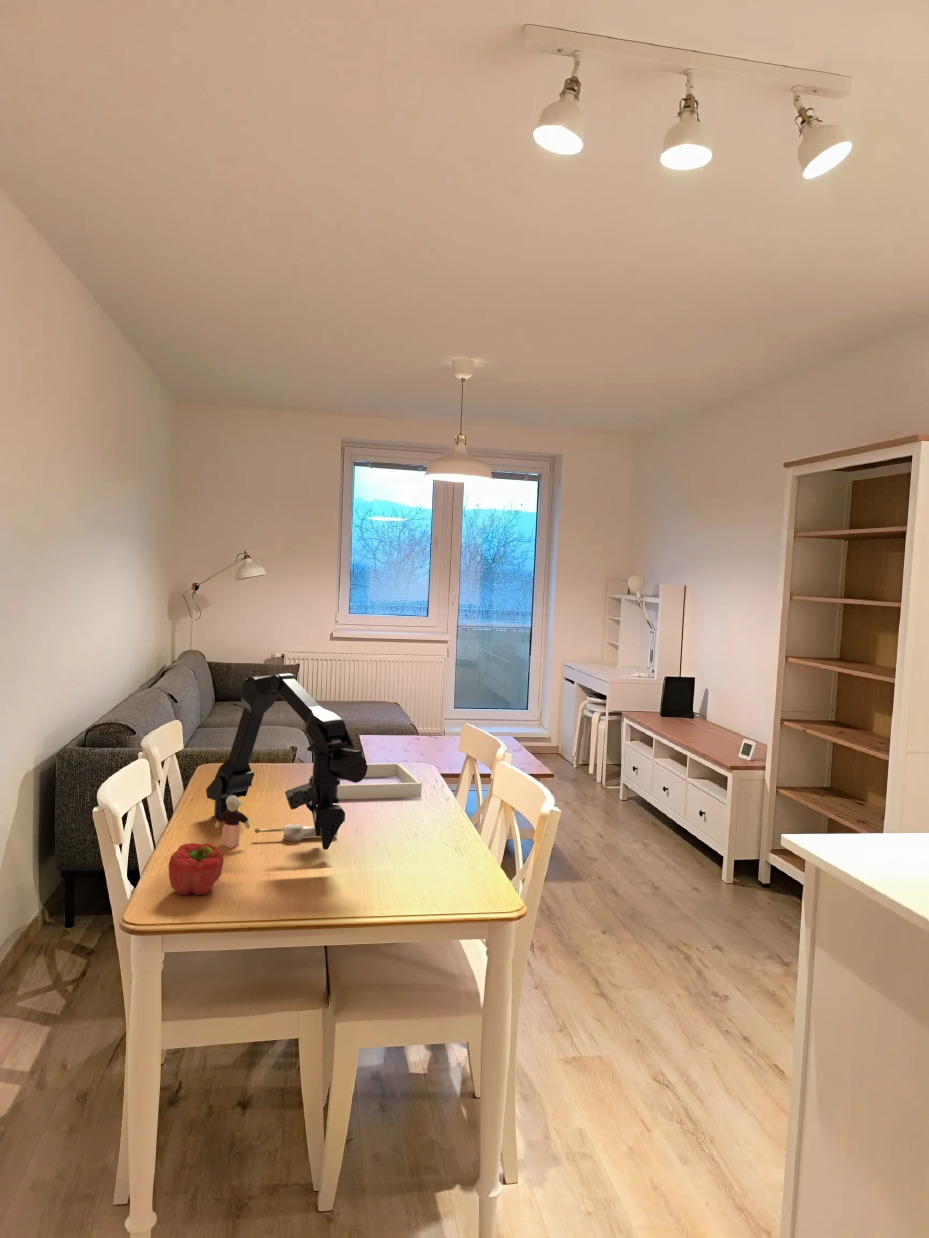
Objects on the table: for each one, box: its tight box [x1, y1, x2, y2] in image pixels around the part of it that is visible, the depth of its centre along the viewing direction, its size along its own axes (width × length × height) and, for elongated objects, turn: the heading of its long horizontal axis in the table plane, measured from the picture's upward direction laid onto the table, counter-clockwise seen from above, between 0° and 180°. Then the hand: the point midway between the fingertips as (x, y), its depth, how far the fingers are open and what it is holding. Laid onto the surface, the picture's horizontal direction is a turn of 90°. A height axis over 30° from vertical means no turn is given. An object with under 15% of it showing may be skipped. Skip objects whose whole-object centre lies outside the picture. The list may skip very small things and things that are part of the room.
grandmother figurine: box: [214, 795, 251, 848], centre depth 185 cm, size 8×4×13 cm, turn 105°
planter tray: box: [337, 762, 423, 800], centre depth 249 cm, size 26×26×4 cm
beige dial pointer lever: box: [254, 823, 339, 843], centre depth 192 cm, size 19×4×3 cm, turn 109°
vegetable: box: [168, 843, 224, 896], centre depth 161 cm, size 11×10×10 cm
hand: (321, 842), depth 184 cm, fingers open, 9 cm apart
